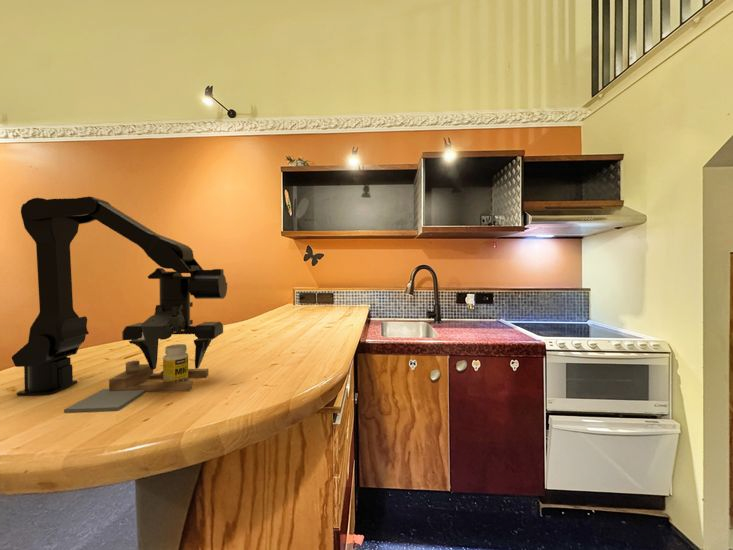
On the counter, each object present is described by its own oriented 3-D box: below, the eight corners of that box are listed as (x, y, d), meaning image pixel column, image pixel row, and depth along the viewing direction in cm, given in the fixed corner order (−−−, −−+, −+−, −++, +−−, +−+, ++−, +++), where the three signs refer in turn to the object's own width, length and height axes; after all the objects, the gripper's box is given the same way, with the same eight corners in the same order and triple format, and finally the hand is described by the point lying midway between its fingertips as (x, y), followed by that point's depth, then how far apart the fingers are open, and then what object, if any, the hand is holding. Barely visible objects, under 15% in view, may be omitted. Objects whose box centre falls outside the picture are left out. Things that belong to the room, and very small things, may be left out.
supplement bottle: (176, 388, 64) (175, 349, 64) (157, 386, 65) (157, 348, 64) (193, 380, 68) (193, 344, 68) (175, 378, 69) (175, 342, 69)
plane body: (109, 393, 61) (108, 369, 61) (139, 377, 70) (139, 356, 70) (189, 391, 62) (189, 367, 62) (208, 375, 72) (208, 354, 72)
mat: (64, 412, 53) (64, 409, 53) (103, 391, 62) (103, 388, 62) (118, 410, 54) (118, 407, 54) (149, 390, 63) (149, 387, 63)
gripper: (101, 303, 57) (102, 384, 57) (203, 303, 59) (203, 380, 59) (139, 298, 68) (139, 365, 69) (223, 297, 70) (224, 363, 70)
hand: (175, 368), depth 66 cm, fingers open, 9 cm apart
